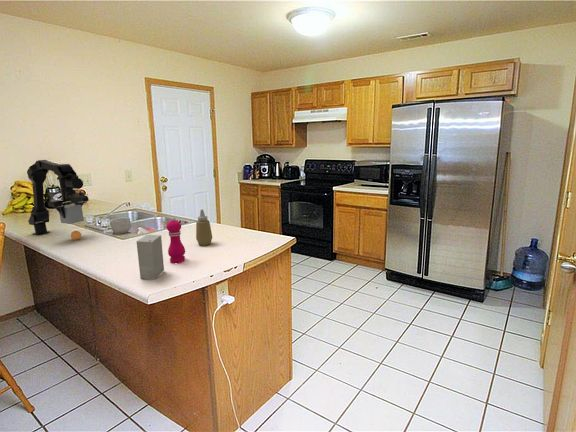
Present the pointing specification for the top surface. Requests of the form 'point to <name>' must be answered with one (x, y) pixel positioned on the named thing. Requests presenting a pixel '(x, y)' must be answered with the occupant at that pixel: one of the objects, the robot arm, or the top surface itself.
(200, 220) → the squeeze bottle
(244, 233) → the top surface
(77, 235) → the ball
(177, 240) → the pepper mill
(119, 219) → the teacup
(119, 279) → the top surface
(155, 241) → the skincare box
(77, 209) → the grey block
